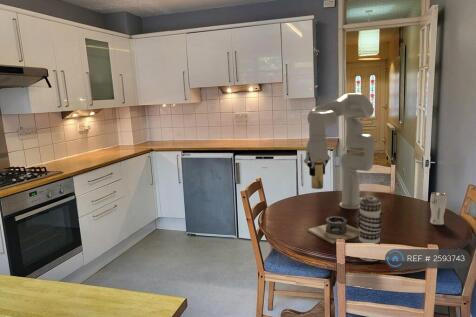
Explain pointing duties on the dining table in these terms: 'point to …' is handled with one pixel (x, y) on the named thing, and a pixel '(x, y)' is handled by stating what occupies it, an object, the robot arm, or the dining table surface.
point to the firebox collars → (336, 225)
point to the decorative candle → (369, 221)
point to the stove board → (332, 238)
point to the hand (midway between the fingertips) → (317, 174)
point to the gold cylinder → (317, 175)
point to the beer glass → (437, 207)
